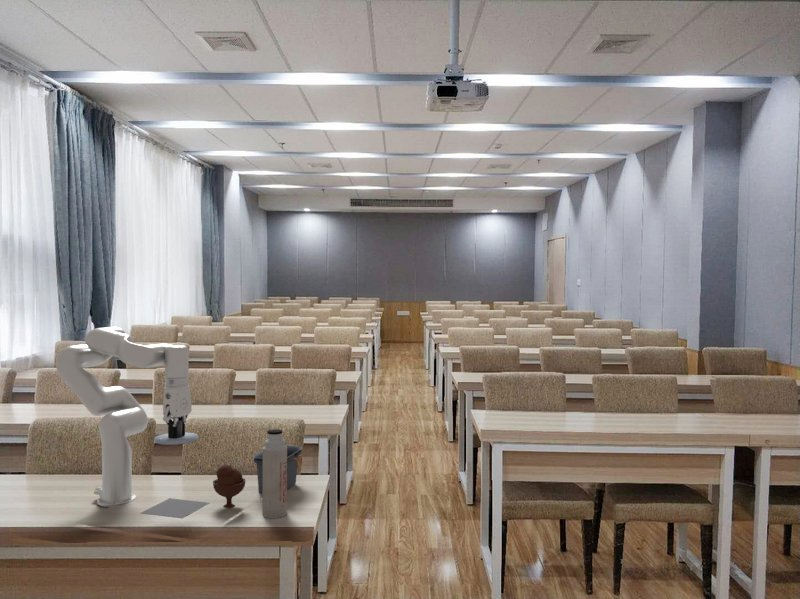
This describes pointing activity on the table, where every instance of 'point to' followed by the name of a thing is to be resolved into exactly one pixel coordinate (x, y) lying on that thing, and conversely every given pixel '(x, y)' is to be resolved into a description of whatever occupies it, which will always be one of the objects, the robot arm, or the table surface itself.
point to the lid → (180, 439)
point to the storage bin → (291, 466)
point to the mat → (175, 508)
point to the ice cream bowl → (228, 483)
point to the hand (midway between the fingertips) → (176, 436)
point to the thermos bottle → (274, 475)
